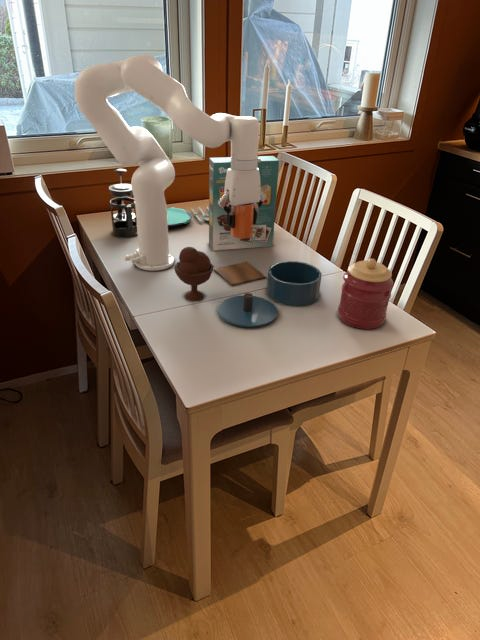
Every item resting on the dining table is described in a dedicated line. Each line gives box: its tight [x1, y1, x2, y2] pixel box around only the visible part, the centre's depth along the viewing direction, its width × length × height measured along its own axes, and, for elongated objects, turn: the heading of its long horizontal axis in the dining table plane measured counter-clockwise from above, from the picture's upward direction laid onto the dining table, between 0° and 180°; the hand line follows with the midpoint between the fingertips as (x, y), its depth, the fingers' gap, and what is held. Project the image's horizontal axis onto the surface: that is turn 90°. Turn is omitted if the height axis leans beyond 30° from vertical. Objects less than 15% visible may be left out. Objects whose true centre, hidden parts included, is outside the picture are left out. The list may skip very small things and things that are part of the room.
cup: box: [231, 203, 254, 239], centre depth 150 cm, size 7×7×10 cm
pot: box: [266, 260, 322, 307], centre depth 148 cm, size 15×16×7 cm
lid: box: [217, 292, 278, 328], centre depth 138 cm, size 16×16×6 cm
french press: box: [108, 168, 138, 239], centre depth 179 cm, size 12×9×23 cm
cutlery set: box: [167, 206, 209, 227], centre depth 198 cm, size 20×30×2 cm, turn 110°
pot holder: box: [213, 261, 266, 287], centre depth 159 cm, size 12×12×1 cm
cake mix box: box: [208, 155, 280, 252], centre depth 172 cm, size 22×6×30 cm, turn 106°
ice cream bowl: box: [173, 246, 215, 302], centre depth 142 cm, size 11×11×15 cm
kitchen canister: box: [337, 258, 394, 330], centre depth 135 cm, size 13×13×18 cm
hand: (241, 224), depth 151 cm, fingers closed on cup, 6 cm apart
